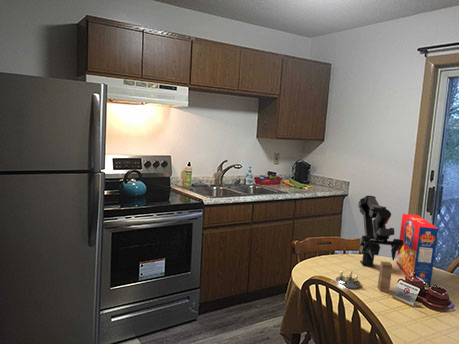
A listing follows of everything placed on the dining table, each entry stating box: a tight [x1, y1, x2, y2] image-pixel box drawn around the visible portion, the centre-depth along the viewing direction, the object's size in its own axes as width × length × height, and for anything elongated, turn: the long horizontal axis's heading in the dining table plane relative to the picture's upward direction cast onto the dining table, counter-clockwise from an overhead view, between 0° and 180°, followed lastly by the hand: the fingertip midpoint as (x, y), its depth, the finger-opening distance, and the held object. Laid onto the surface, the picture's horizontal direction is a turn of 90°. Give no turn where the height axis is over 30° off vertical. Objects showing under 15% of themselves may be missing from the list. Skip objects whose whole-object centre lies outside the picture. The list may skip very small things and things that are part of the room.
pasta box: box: [395, 213, 439, 286], centre depth 187 cm, size 28×8×28 cm, turn 170°
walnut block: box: [377, 260, 393, 293], centre depth 166 cm, size 4×4×12 cm
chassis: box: [335, 270, 361, 290], centre depth 171 cm, size 11×11×5 cm
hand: (383, 258), depth 171 cm, fingers open, 9 cm apart
